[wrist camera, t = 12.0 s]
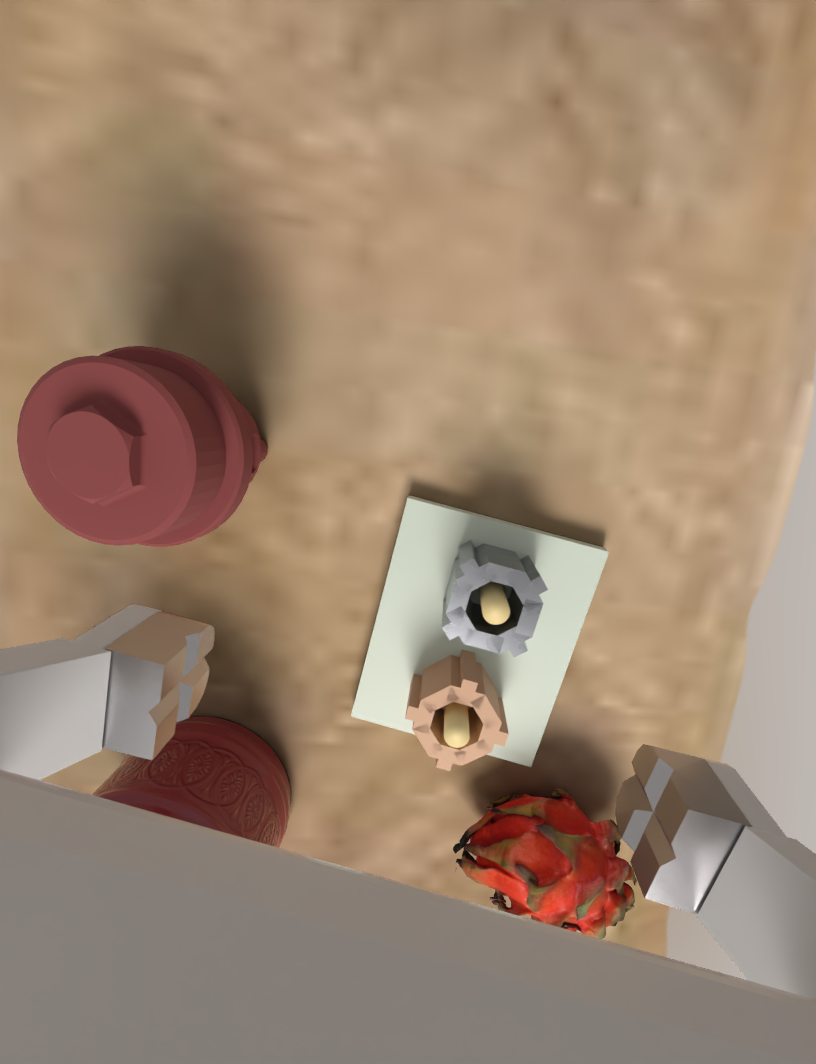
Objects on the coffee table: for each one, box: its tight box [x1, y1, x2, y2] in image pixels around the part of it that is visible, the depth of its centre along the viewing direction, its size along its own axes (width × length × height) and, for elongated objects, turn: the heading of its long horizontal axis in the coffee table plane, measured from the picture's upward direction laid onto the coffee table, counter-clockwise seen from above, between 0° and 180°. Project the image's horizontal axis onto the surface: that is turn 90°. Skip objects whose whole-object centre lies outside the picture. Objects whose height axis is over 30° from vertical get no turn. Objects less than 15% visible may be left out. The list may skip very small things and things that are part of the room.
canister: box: [92, 716, 291, 848], centre depth 30 cm, size 13×13×18 cm
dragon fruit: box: [453, 788, 636, 939], centre depth 34 cm, size 8×8×12 cm
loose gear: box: [442, 540, 548, 657], centre depth 30 cm, size 5×5×4 cm
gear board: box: [351, 495, 609, 771], centre depth 31 cm, size 16×13×6 cm
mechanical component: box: [17, 346, 267, 546], centre depth 27 cm, size 12×10×10 cm
